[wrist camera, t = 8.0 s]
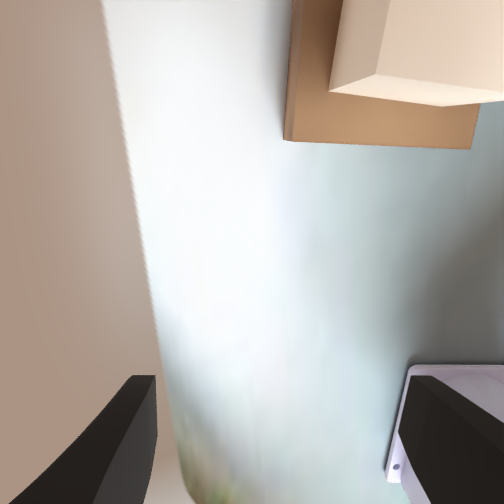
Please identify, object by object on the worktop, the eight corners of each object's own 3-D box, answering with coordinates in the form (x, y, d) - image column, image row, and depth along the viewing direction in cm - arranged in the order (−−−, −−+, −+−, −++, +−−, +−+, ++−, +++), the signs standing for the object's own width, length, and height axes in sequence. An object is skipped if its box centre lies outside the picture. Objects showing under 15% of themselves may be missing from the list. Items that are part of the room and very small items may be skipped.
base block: (433, 146, 19) (470, 149, 16) (282, 139, 18) (292, 141, 15) (469, -38, 16) (520, -72, 14) (295, -53, 16) (310, -94, 13)
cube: (441, 106, 15) (536, 97, 11) (328, 91, 15) (375, 74, 10) (478, -34, 14) (609, -116, 9) (352, -56, 13) (421, -156, 9)
